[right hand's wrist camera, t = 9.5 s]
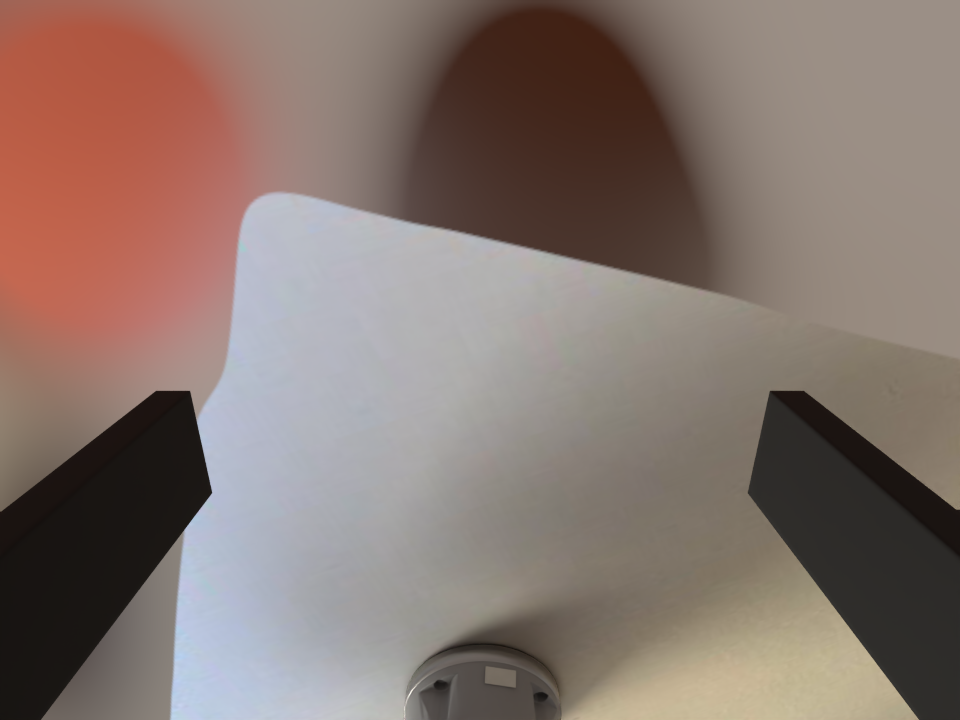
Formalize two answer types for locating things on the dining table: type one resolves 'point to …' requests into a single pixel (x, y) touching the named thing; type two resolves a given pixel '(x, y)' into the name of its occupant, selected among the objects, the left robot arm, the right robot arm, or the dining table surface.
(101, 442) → the right robot arm
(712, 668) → the dining table surface
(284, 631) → the dining table surface
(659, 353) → the dining table surface
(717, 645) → the dining table surface
